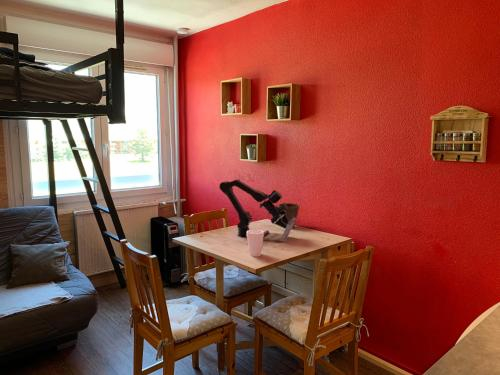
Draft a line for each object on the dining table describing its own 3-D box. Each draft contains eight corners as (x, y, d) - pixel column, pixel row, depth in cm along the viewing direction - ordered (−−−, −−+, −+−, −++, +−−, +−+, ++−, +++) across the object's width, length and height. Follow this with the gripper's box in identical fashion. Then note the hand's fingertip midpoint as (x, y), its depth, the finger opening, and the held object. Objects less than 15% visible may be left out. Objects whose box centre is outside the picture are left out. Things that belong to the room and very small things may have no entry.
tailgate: (279, 240, 231) (287, 222, 228) (286, 234, 246) (293, 217, 242) (282, 241, 230) (290, 223, 227) (288, 235, 245) (296, 218, 242)
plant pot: (298, 229, 263) (298, 207, 261) (276, 228, 266) (276, 206, 264) (299, 225, 277) (299, 203, 275) (279, 224, 280) (279, 203, 278)
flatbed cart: (259, 240, 235) (259, 236, 235) (266, 234, 250) (266, 230, 250) (279, 242, 231) (279, 238, 231) (286, 236, 246) (286, 231, 245)
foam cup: (254, 251, 214) (254, 228, 213) (267, 254, 209) (267, 231, 207) (243, 255, 207) (243, 232, 205) (256, 258, 201) (256, 234, 200)
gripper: (275, 202, 227) (293, 221, 225) (283, 197, 245) (300, 215, 242) (263, 214, 231) (281, 233, 228) (272, 208, 248) (288, 226, 246)
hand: (288, 226), depth 236 cm, fingers open, 9 cm apart
